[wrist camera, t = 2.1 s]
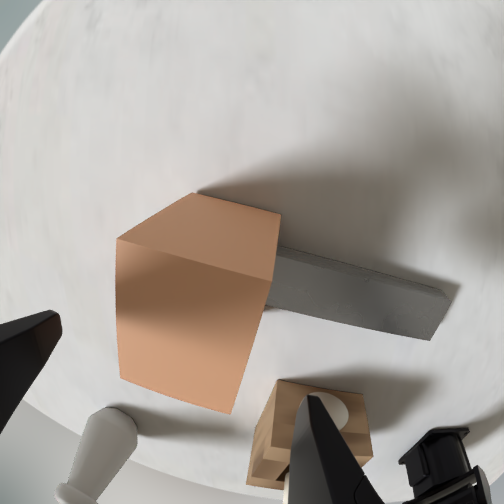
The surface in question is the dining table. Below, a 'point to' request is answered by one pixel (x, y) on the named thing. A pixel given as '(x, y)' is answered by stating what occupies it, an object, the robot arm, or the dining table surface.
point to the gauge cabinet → (283, 422)
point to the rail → (354, 295)
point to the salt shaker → (99, 456)
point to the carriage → (193, 297)
